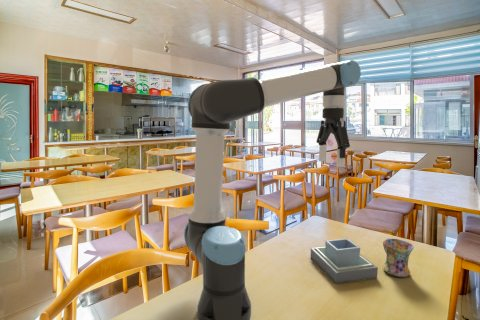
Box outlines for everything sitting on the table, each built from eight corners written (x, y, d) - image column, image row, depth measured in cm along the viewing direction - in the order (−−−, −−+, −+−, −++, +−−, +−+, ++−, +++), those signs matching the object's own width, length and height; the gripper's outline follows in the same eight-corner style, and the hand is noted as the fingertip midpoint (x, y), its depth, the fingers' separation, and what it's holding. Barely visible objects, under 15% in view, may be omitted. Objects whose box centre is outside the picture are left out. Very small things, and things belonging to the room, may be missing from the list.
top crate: (337, 279, 98) (337, 269, 97) (314, 256, 113) (315, 247, 113) (371, 274, 100) (372, 264, 100) (345, 253, 116) (345, 244, 115)
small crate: (336, 270, 102) (337, 250, 101) (324, 259, 110) (325, 240, 108) (358, 267, 104) (360, 247, 103) (346, 257, 111) (347, 238, 110)
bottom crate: (335, 284, 96) (336, 272, 96) (310, 257, 114) (310, 248, 114) (377, 278, 100) (377, 267, 99) (346, 253, 117) (346, 244, 117)
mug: (417, 277, 100) (420, 248, 98) (393, 280, 98) (396, 251, 96) (393, 261, 111) (395, 234, 110) (371, 263, 110) (373, 236, 108)
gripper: (362, 106, 97) (359, 169, 100) (325, 108, 121) (324, 158, 124) (342, 106, 96) (339, 170, 99) (309, 108, 120) (307, 159, 123)
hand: (330, 163), depth 112 cm, fingers open, 13 cm apart
